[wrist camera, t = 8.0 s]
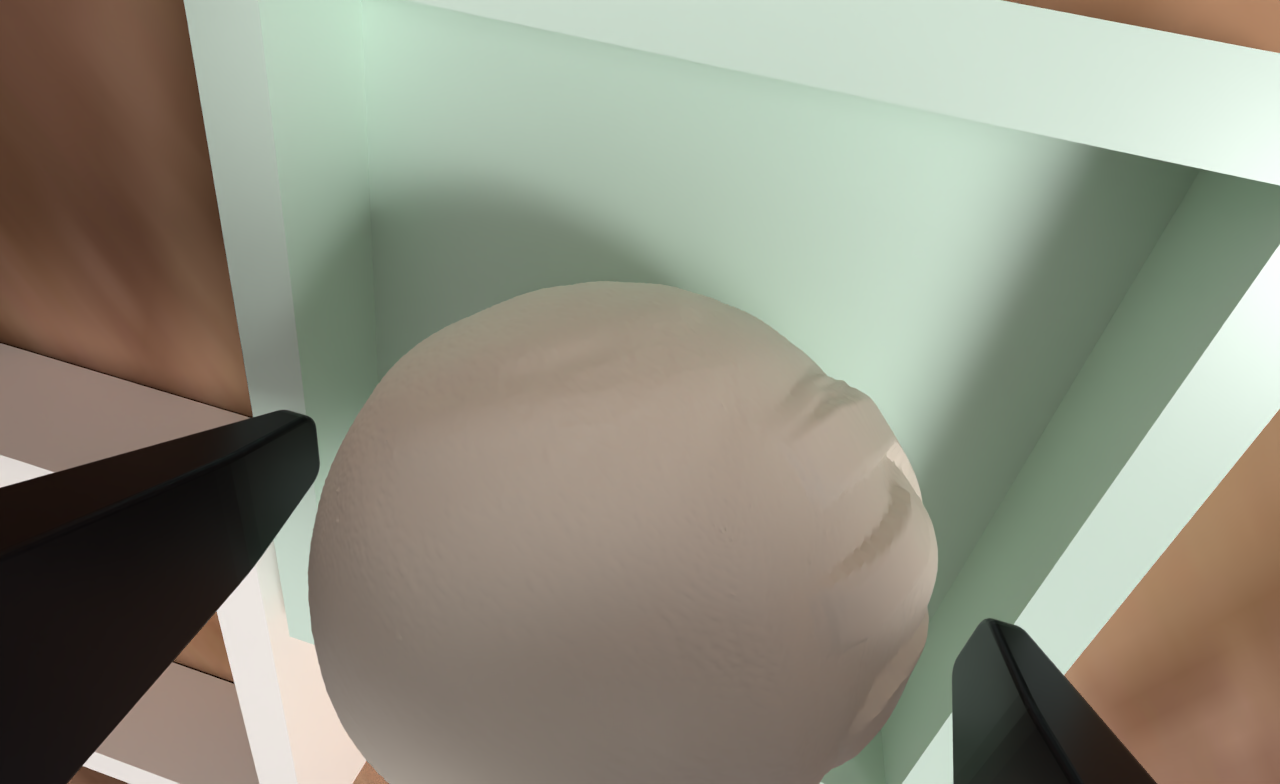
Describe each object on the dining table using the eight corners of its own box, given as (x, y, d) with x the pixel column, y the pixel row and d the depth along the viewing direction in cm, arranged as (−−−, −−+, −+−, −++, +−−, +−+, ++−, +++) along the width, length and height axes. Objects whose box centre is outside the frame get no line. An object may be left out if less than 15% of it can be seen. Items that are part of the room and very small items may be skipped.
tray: (905, 707, 15) (921, 849, 12) (372, 539, 16) (289, 636, 14) (1306, 73, 8) (1528, 101, 6) (334, -115, 10) (156, -162, 7)
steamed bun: (906, 572, 12) (983, 1086, 6) (531, 560, 14) (332, 935, 8) (907, 184, 9) (1061, 496, 3) (427, 245, 11) (2, 496, 5)
